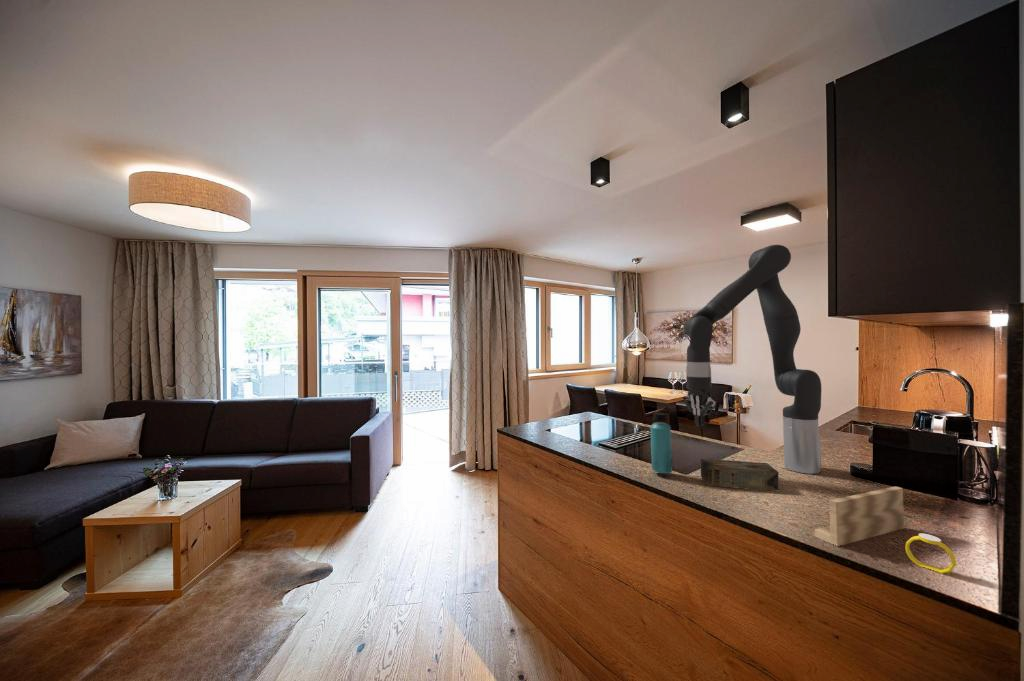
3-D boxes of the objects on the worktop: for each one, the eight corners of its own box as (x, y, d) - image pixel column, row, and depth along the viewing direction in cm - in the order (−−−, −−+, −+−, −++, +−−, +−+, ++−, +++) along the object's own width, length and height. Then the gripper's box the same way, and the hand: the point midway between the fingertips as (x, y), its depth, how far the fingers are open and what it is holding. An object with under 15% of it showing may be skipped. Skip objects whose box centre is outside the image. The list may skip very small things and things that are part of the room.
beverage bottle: (675, 478, 113) (673, 415, 113) (653, 477, 114) (651, 414, 114) (670, 471, 119) (668, 411, 120) (649, 470, 120) (647, 411, 121)
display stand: (880, 519, 85) (878, 481, 85) (904, 528, 80) (902, 488, 81) (814, 536, 78) (813, 494, 78) (837, 546, 74) (835, 502, 74)
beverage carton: (780, 492, 102) (780, 469, 102) (706, 487, 106) (705, 465, 106) (768, 482, 109) (767, 460, 109) (699, 477, 114) (698, 457, 114)
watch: (955, 575, 65) (957, 543, 65) (953, 581, 63) (955, 548, 63) (906, 557, 70) (908, 527, 70) (903, 562, 68) (905, 531, 68)
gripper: (723, 376, 117) (725, 429, 116) (692, 373, 129) (693, 421, 129) (705, 377, 114) (706, 431, 114) (675, 374, 127) (676, 423, 127)
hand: (699, 426), depth 121 cm, fingers closed
